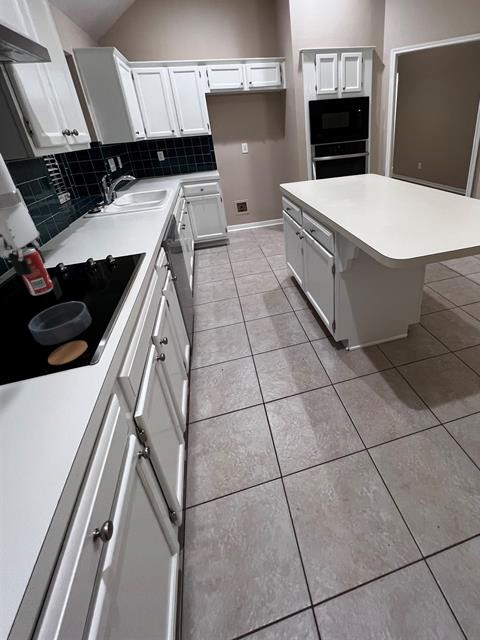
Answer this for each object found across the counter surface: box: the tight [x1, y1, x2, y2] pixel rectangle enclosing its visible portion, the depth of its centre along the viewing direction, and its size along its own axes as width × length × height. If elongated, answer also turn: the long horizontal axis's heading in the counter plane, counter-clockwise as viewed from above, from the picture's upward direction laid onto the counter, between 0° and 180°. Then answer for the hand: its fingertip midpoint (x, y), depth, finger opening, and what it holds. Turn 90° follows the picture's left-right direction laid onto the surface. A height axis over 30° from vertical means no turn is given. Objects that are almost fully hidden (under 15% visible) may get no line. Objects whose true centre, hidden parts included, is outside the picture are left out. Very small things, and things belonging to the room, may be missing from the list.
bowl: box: [27, 301, 93, 346], centre depth 92 cm, size 14×14×6 cm
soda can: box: [12, 247, 54, 297], centre depth 83 cm, size 5×5×12 cm
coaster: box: [47, 340, 88, 366], centre depth 84 cm, size 9×9×1 cm
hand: (32, 268), depth 82 cm, fingers closed on soda can, 5 cm apart
